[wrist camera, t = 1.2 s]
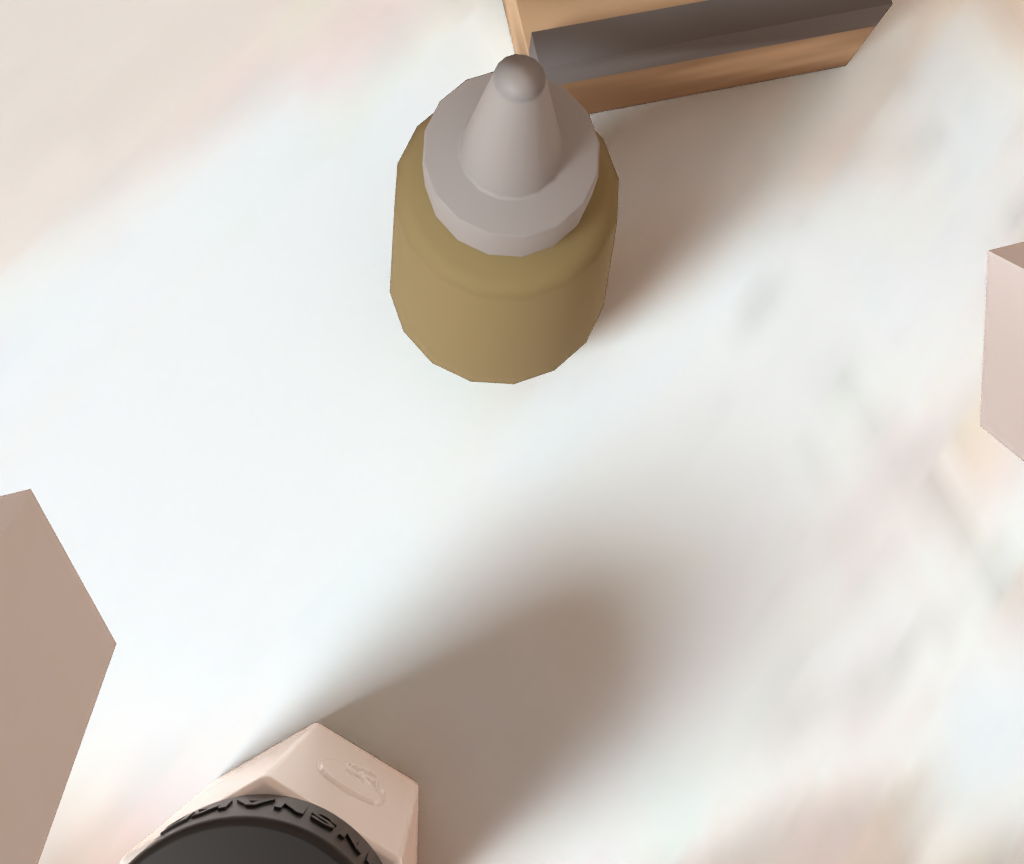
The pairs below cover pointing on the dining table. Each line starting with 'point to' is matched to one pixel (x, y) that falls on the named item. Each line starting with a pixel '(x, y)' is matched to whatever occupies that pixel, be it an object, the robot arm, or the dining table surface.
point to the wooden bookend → (683, 43)
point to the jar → (294, 811)
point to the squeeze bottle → (503, 227)
